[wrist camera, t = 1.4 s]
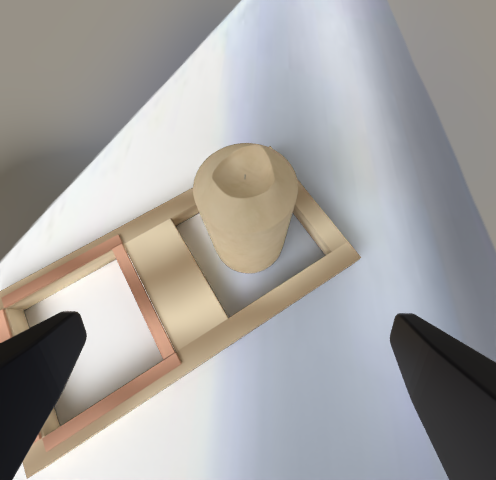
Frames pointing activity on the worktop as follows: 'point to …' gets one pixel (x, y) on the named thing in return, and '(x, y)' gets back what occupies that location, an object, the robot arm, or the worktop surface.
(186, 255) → the rail frame
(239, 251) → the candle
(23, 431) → the robot arm
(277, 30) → the worktop surface
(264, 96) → the worktop surface
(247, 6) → the worktop surface
